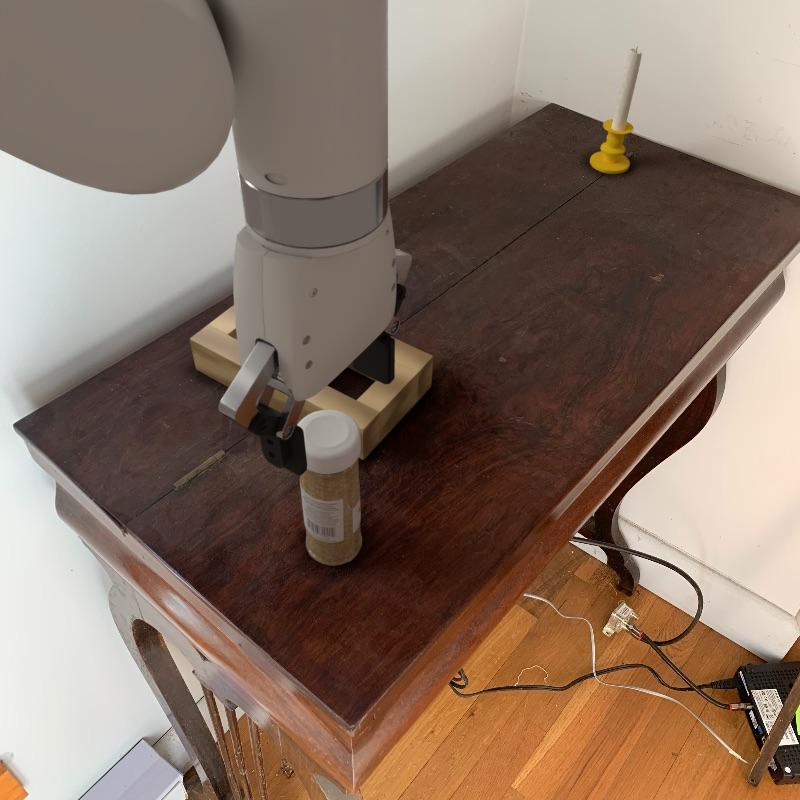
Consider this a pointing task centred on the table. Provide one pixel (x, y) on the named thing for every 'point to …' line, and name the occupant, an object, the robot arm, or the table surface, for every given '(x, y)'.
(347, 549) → the sprinkles bottle
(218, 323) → the holder
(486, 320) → the table surface
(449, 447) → the table surface
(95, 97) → the robot arm
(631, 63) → the candle
